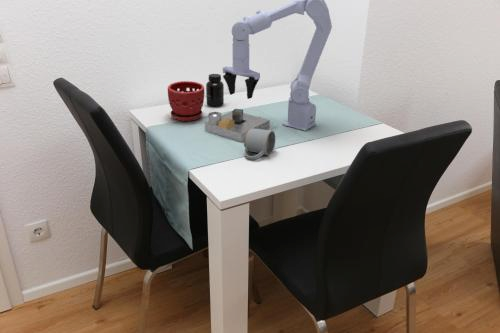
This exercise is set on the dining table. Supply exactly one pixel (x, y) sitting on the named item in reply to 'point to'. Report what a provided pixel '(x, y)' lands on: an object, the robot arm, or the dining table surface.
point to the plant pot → (186, 100)
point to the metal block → (237, 116)
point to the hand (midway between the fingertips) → (240, 95)
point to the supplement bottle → (215, 91)
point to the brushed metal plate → (234, 125)
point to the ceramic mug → (259, 142)
